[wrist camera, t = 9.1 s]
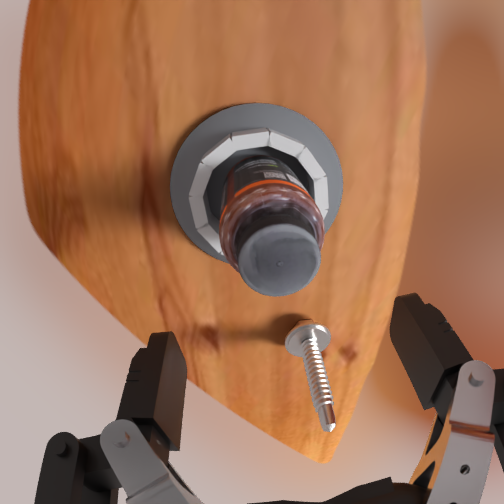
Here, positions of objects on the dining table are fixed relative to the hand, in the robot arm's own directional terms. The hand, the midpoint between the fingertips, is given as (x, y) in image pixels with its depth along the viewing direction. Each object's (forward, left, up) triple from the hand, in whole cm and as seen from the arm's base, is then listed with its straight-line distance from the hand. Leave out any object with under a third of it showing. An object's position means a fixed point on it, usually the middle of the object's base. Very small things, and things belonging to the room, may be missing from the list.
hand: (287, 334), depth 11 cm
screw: (+16, +3, -17) cm, 23 cm away
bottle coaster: (0, 0, -17) cm, 17 cm away
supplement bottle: (0, 0, -16) cm, 16 cm away
